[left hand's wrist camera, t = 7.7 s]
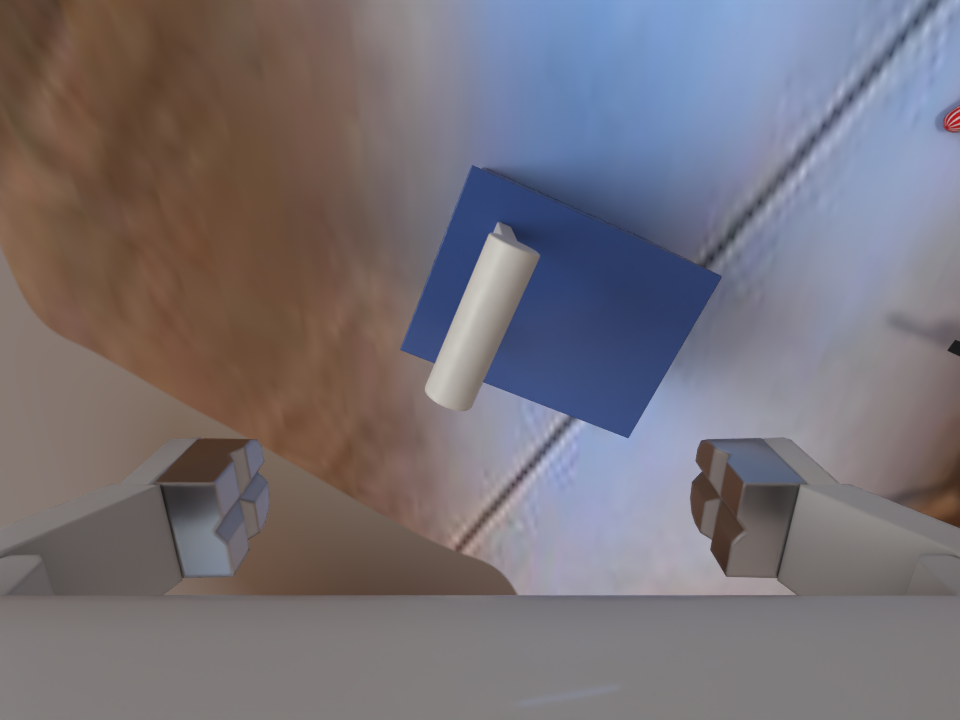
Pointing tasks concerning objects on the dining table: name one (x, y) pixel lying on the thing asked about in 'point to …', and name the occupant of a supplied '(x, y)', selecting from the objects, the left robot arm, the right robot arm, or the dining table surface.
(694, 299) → the lid
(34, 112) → the dining table surface
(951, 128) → the candy cane
